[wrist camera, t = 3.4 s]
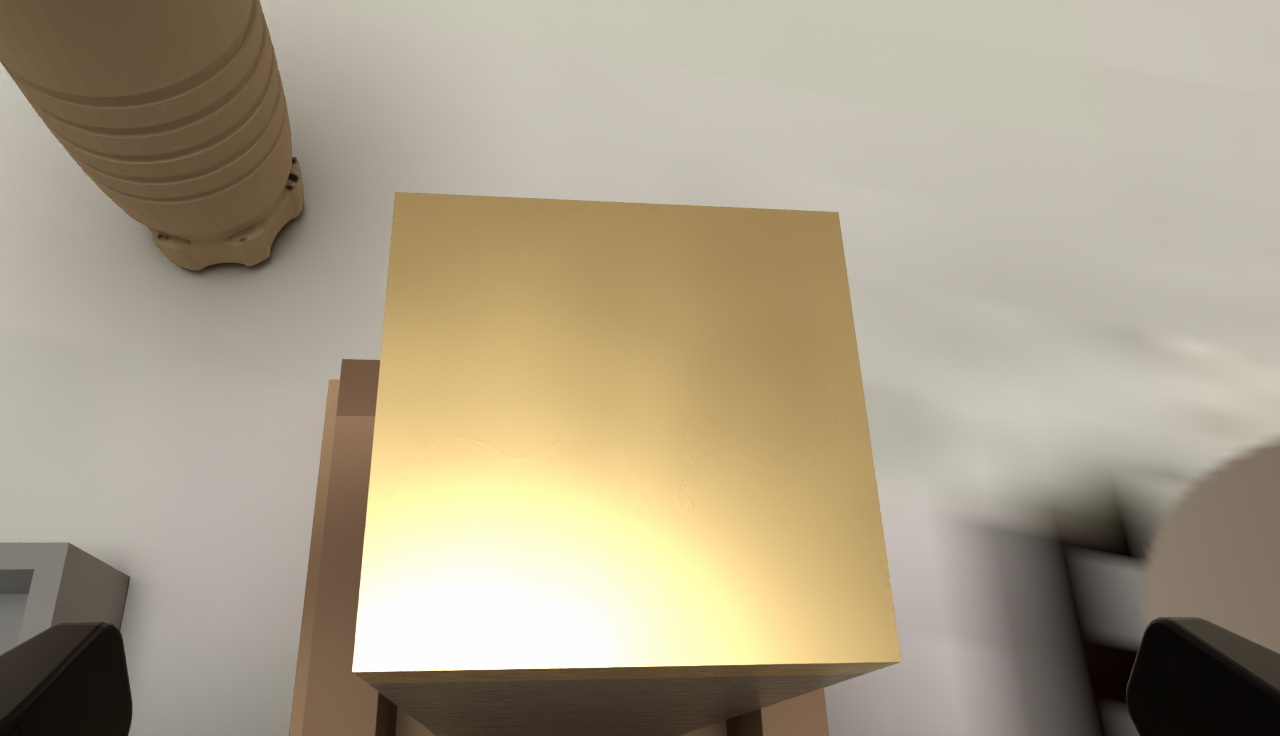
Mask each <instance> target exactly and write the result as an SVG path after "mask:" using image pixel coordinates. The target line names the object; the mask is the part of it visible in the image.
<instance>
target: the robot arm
mask: <svg viewBox="0 0 1280 736" xmlns="http://www.w3.org/2000/svg"><path fill="white" fill-rule="evenodd" d="M1126 701H1127V708H1128V711H1129V715H1130V717H1131V720H1132V722H1133V724H1134V726H1135V728H1136V730H1137V732H1138V734H1139V736H1280V654H1279V653H1277V652H1274V651H1272V650H1270V649H1268V648H1266V647H1264V646H1262V645H1259V644H1257V643H1255V642H1253V641H1250V640H1248V639H1246V638H1244V637H1242V636H1240V635H1238V634H1235V633H1233V632H1231V631H1229V630H1227V629H1224V628H1222V627H1220V626H1218V625H1216V624H1213V623H1211V622H1209V621H1207V620H1204V619H1202V618H1196V617H1160V618H1157V619H1154V620H1152V621H1151V622H1150V623H1149V625H1148V626H1147V627H1146V629H1145V631H1144V634H1143V637H1142V640H1141V644H1140V647H1139V650H1138V653H1137V656H1136V660H1135V663H1134V666H1133V669H1132V672H1131V676H1130V679H1129V682H1128V685H1127V690H1126ZM131 720H132V698H131V691H130V684H129V678H128V671H127V665H126V658H125V651H124V645H123V639H122V635H121V632H120V630H119V628H118V627H117V626H116V625H114V624H113V623H111V622H109V621H66V622H61V623H57V624H55V625H53V626H51V627H50V628H48V629H46V630H44V631H42V632H41V633H39V634H37V635H35V636H33V637H32V638H30V639H28V640H26V641H25V642H23V643H21V644H19V645H17V646H16V647H14V648H12V649H10V650H9V651H7V652H5V653H3V654H1V655H0V736H128V734H129V730H130V726H131Z"/></svg>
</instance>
